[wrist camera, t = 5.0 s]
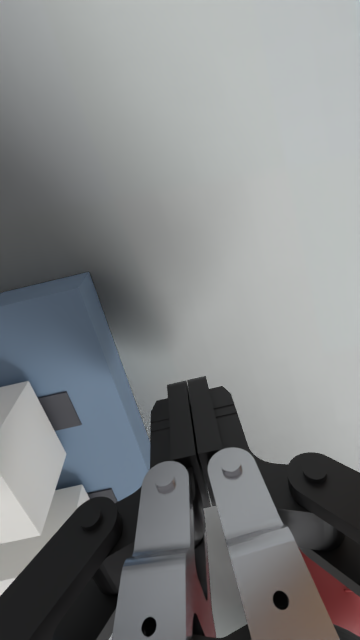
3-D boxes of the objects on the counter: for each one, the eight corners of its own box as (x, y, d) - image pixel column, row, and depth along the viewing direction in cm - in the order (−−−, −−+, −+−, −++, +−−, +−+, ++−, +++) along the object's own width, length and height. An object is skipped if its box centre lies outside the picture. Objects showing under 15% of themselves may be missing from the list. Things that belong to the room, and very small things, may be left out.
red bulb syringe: (331, 523, 25) (440, 606, 17) (311, 602, 24) (415, 727, 16) (263, 505, 23) (348, 586, 16) (239, 588, 23) (316, 717, 15)
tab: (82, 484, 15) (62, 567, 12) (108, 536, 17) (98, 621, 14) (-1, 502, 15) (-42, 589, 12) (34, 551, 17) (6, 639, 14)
